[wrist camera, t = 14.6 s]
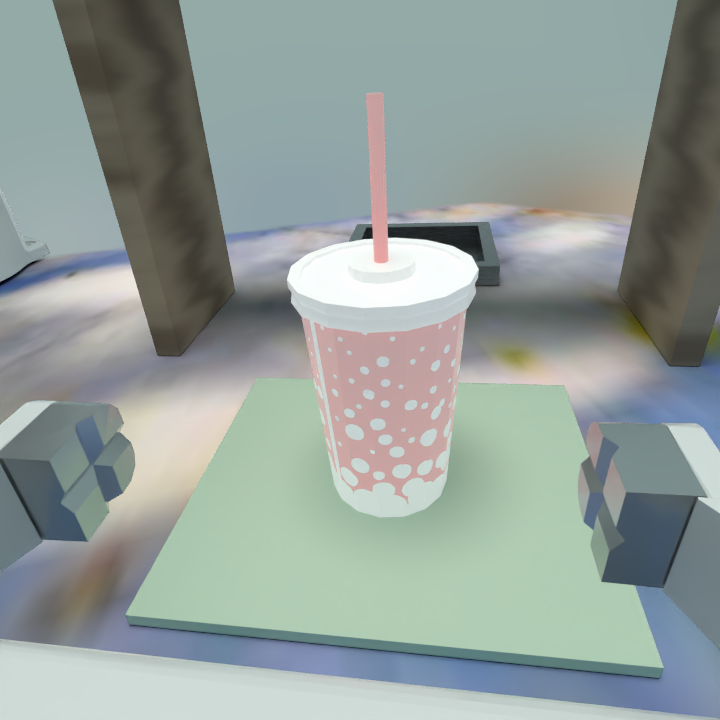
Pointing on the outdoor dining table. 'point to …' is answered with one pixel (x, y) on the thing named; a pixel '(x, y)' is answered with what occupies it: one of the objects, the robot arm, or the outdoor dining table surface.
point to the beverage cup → (385, 352)
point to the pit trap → (449, 242)
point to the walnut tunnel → (201, 210)
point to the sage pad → (402, 543)
